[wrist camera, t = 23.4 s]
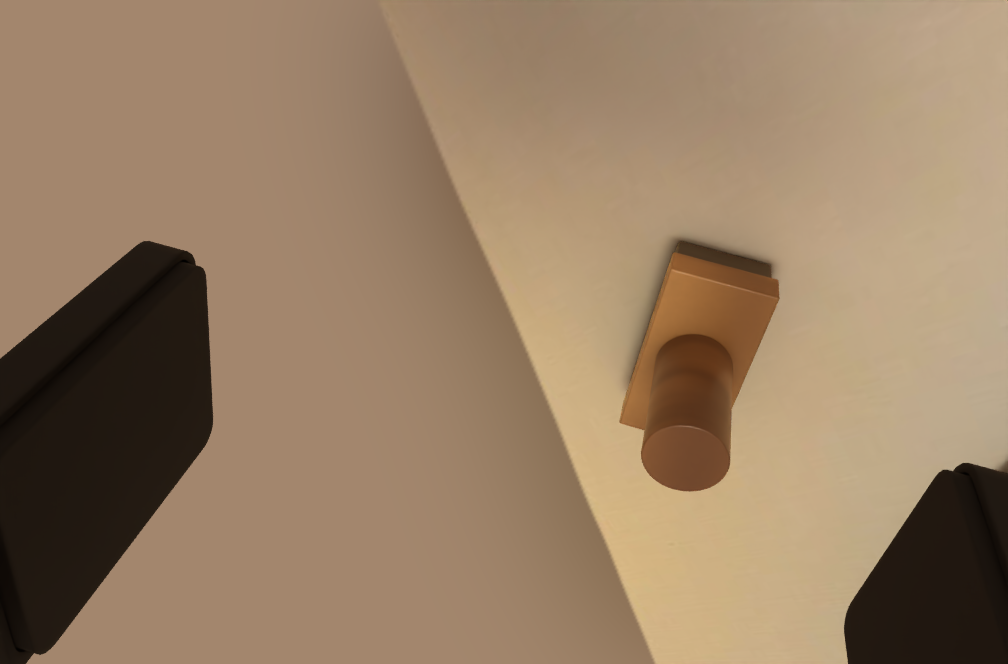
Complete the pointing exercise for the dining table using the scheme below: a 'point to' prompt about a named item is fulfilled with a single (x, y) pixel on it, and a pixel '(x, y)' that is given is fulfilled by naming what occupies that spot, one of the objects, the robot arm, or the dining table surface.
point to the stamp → (697, 363)
